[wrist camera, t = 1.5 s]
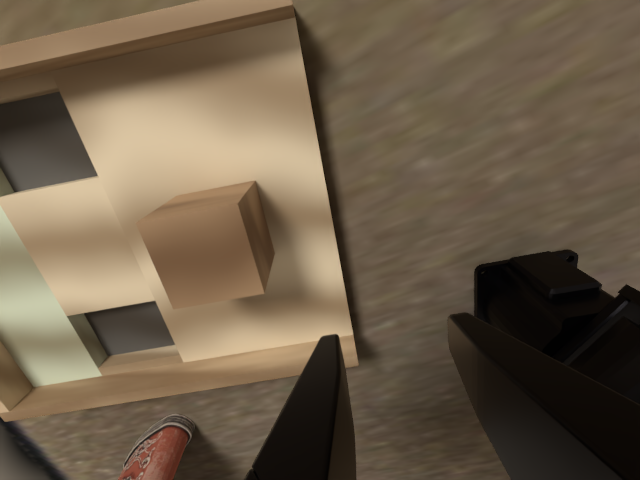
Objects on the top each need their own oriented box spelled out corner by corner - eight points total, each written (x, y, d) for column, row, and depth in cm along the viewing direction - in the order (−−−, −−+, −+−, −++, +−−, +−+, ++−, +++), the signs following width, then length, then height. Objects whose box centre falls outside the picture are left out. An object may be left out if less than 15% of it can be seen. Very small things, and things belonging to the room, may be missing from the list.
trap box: (352, 329, 24) (358, 365, 20) (45, 380, 25) (5, 421, 22) (293, 6, 16) (287, -20, 13) (-148, 103, 17) (-255, 103, 14)
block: (274, 253, 19) (264, 293, 15) (203, 266, 20) (173, 309, 15) (255, 180, 18) (237, 203, 13) (176, 195, 18) (135, 222, 14)
